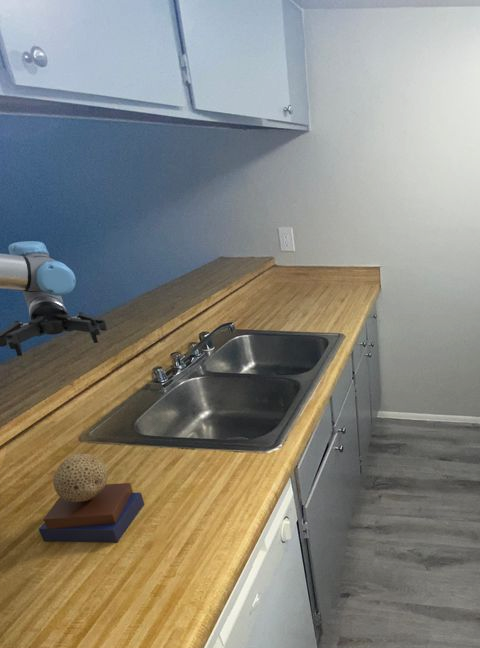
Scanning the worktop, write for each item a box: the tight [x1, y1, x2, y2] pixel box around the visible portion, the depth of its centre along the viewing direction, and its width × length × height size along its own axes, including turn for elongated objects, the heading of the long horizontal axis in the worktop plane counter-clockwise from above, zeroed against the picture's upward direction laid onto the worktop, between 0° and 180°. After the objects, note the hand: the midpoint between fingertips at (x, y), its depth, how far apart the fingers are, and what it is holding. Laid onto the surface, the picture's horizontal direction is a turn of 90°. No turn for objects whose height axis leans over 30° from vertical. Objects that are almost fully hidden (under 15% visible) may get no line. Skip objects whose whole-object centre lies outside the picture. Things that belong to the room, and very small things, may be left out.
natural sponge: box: [52, 453, 109, 502], centre depth 91 cm, size 9×9×10 cm
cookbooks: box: [38, 482, 145, 543], centre depth 94 cm, size 14×11×6 cm
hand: (57, 343), depth 100 cm, fingers open, 13 cm apart
